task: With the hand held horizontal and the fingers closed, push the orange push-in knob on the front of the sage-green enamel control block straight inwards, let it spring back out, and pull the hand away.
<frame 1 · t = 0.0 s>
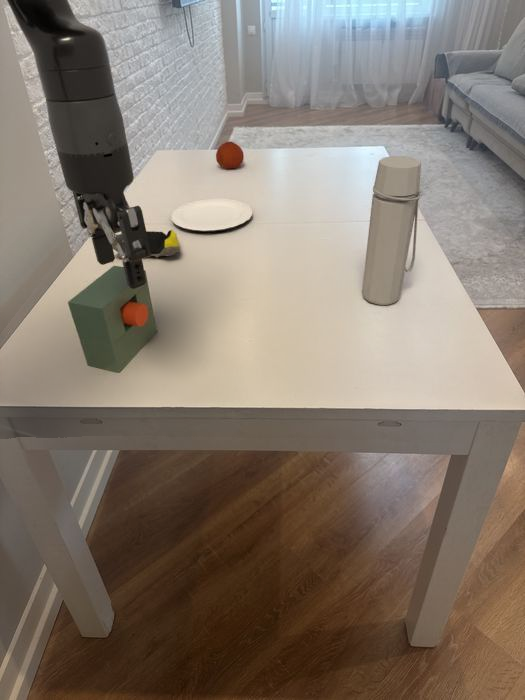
hand: (121, 273, 63), 19 cm above the table, tool pointing down, fingers open, 8 cm apart
push knob: (133, 313, 77), point 8 cm above the table, slide at 0.0 cm
fruit: (230, 168, 159), on the table
water bottle: (385, 297, 93), on the table
toy running shoe: (150, 255, 110), on the table
control block: (124, 347, 83), on the table
plate: (212, 219, 126), on the table
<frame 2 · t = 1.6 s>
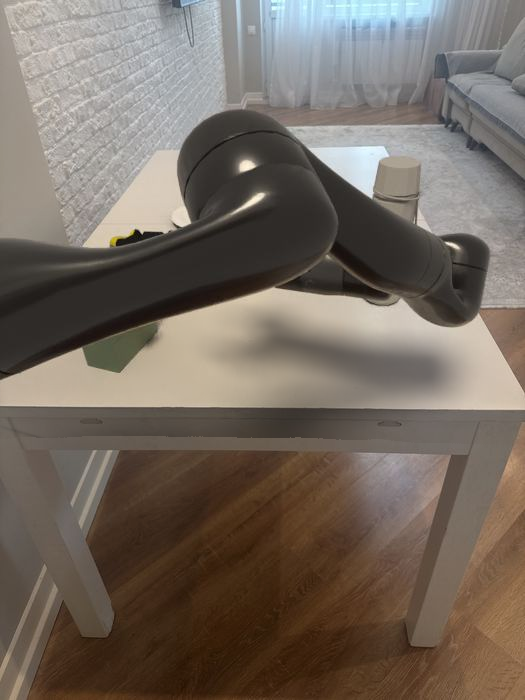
hand: (194, 248, 66), 20 cm above the table, tool horizontal, fingers open, 7 cm apart
nothing on the table moved.
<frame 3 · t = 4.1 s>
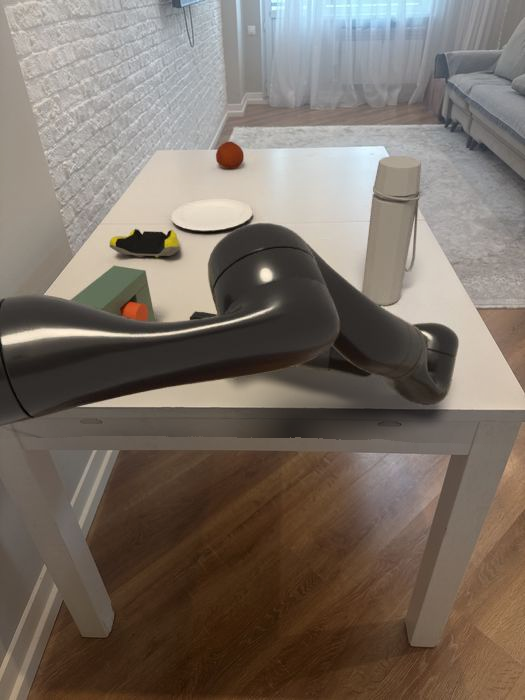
hand: (192, 319, 73), 8 cm above the table, tool horizontal, fingers closed
nothing on the table moved.
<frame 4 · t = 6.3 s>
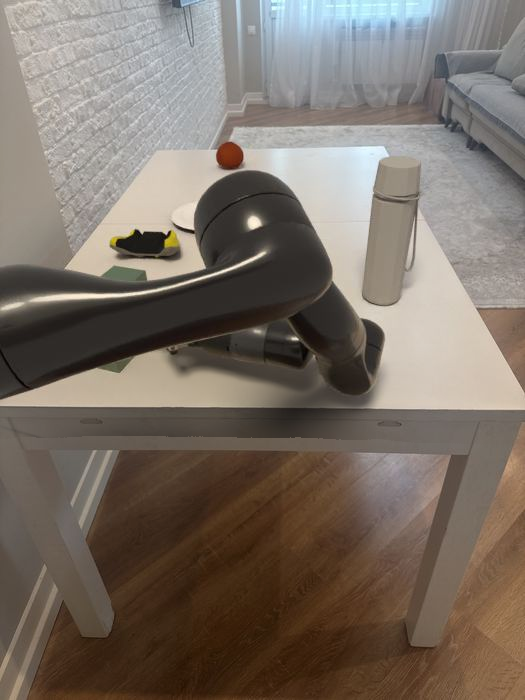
hand: (140, 315, 77), 7 cm above the table, tool horizontal, fingers closed
push knob: (132, 313, 77), point 8 cm above the table, slide at 0.3 cm, touching gripper
everything else where it was.
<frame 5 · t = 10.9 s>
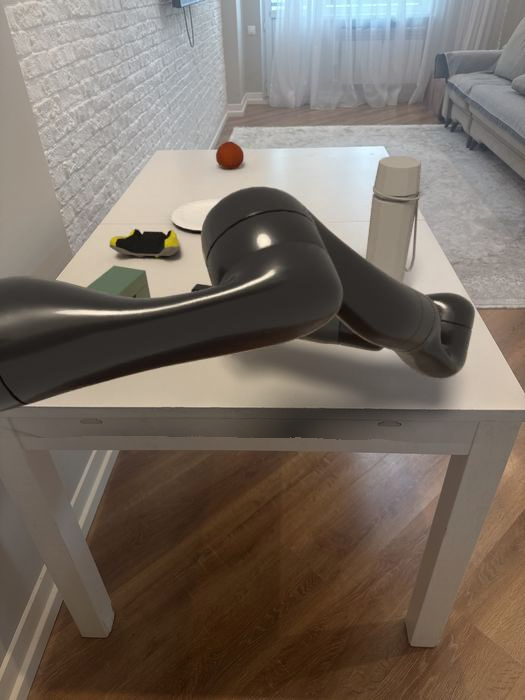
hand: (193, 292, 70), 13 cm above the table, tool horizontal, fingers closed
push knob: (133, 313, 77), point 8 cm above the table, slide at -0.1 cm
everything else where it was.
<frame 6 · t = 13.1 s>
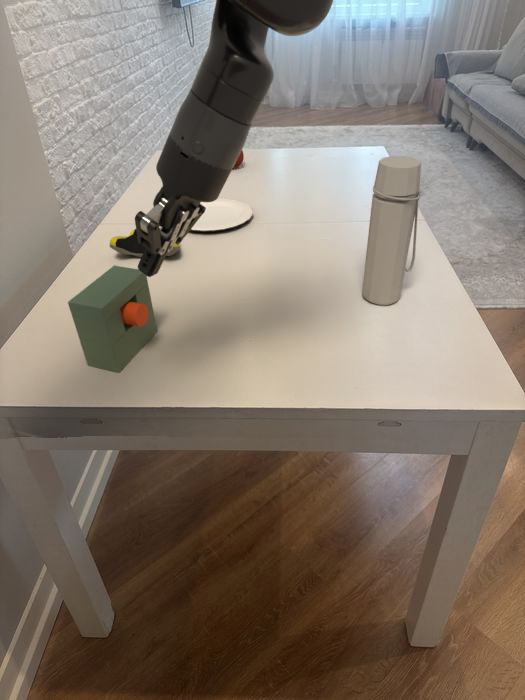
hand: (146, 271, 62), 20 cm above the table, tool tilted 30°, fingers closed
nothing on the table moved.
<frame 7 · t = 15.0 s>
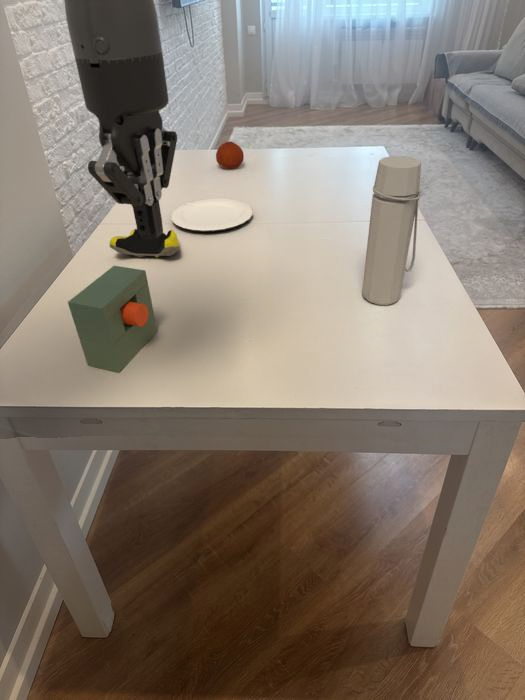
hand: (151, 235, 53), 27 cm above the table, tool pointing down, fingers closed
nothing on the table moved.
at the end: push knob pulled out 1.2 cm at the most during the clip, back to where it started at the end; push knob slide at -0.1 cm; toy running shoe moved 0.2 cm from its start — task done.
